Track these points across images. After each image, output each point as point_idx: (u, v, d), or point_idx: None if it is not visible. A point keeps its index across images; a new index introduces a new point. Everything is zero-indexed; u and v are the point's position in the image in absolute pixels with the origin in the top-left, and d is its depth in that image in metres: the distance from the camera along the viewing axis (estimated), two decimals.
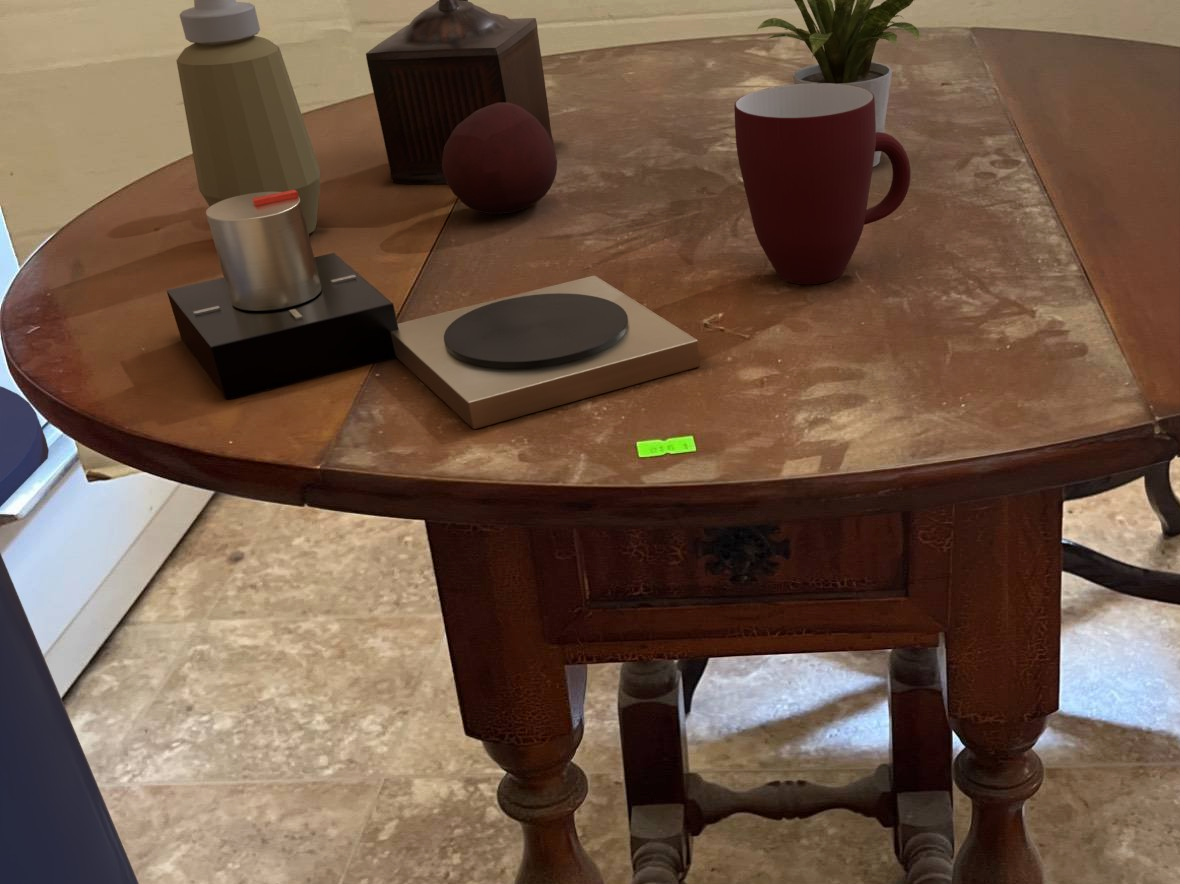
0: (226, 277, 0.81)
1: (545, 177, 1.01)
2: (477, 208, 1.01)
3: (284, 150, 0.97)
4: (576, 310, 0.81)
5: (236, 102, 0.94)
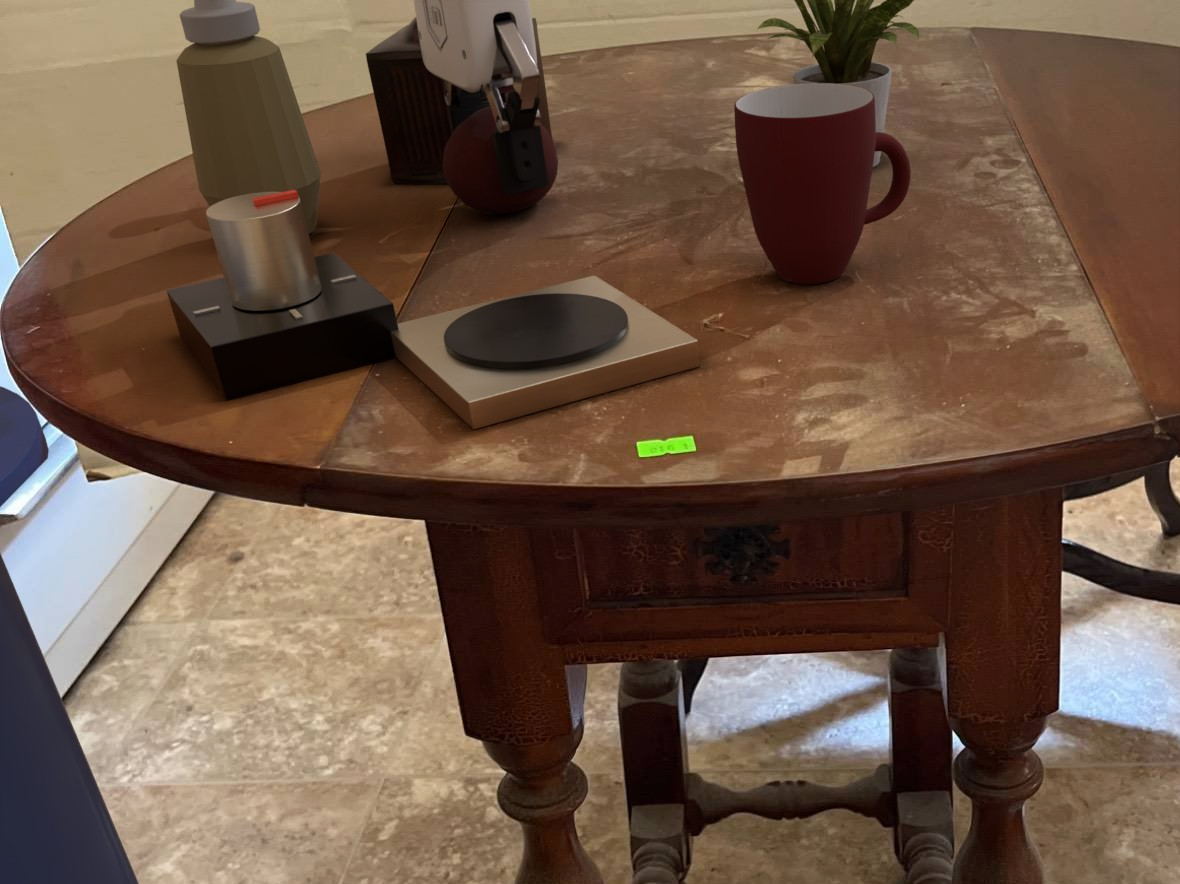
0: (226, 277, 0.81)
1: None
2: (477, 208, 1.01)
3: (284, 150, 0.97)
4: (576, 310, 0.81)
5: (236, 102, 0.94)
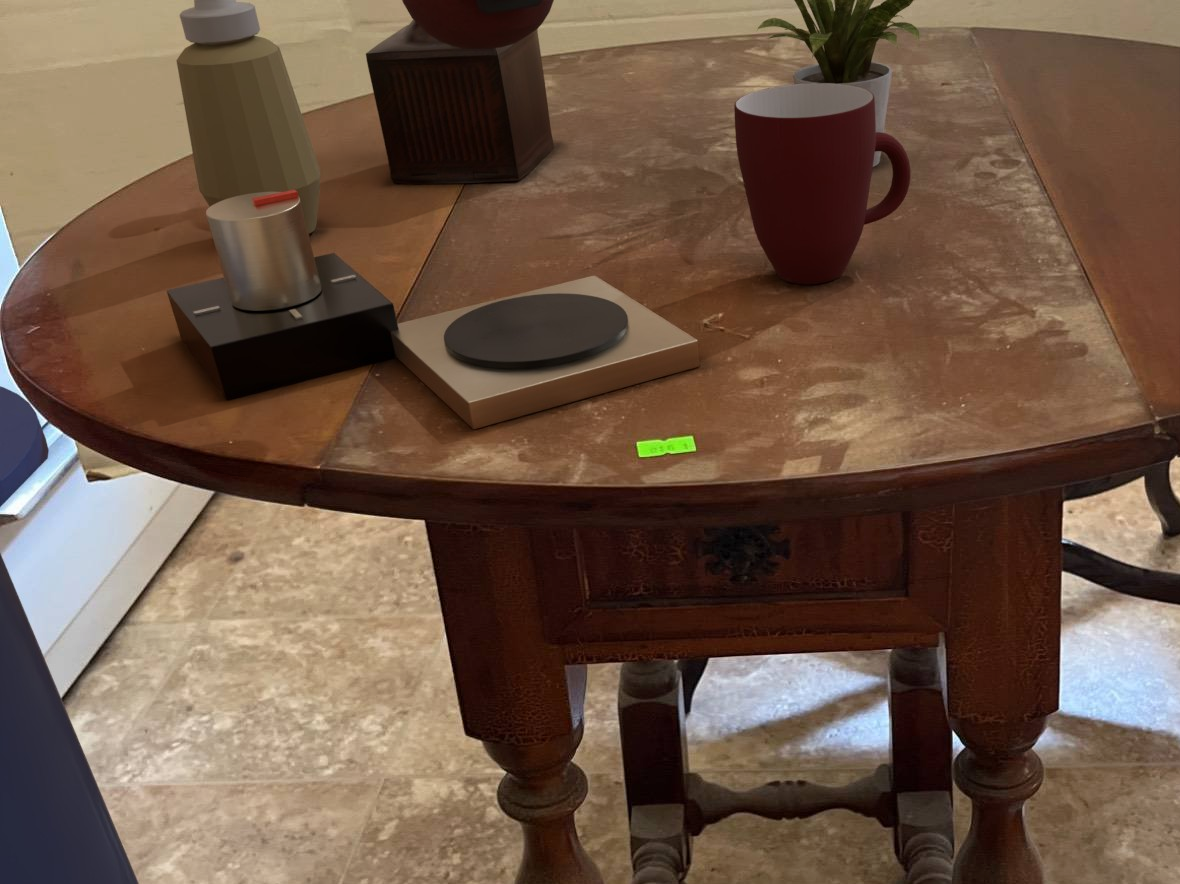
0: (226, 277, 0.81)
1: None
2: (445, 38, 0.72)
3: (284, 150, 0.97)
4: (576, 310, 0.81)
5: (236, 102, 0.94)
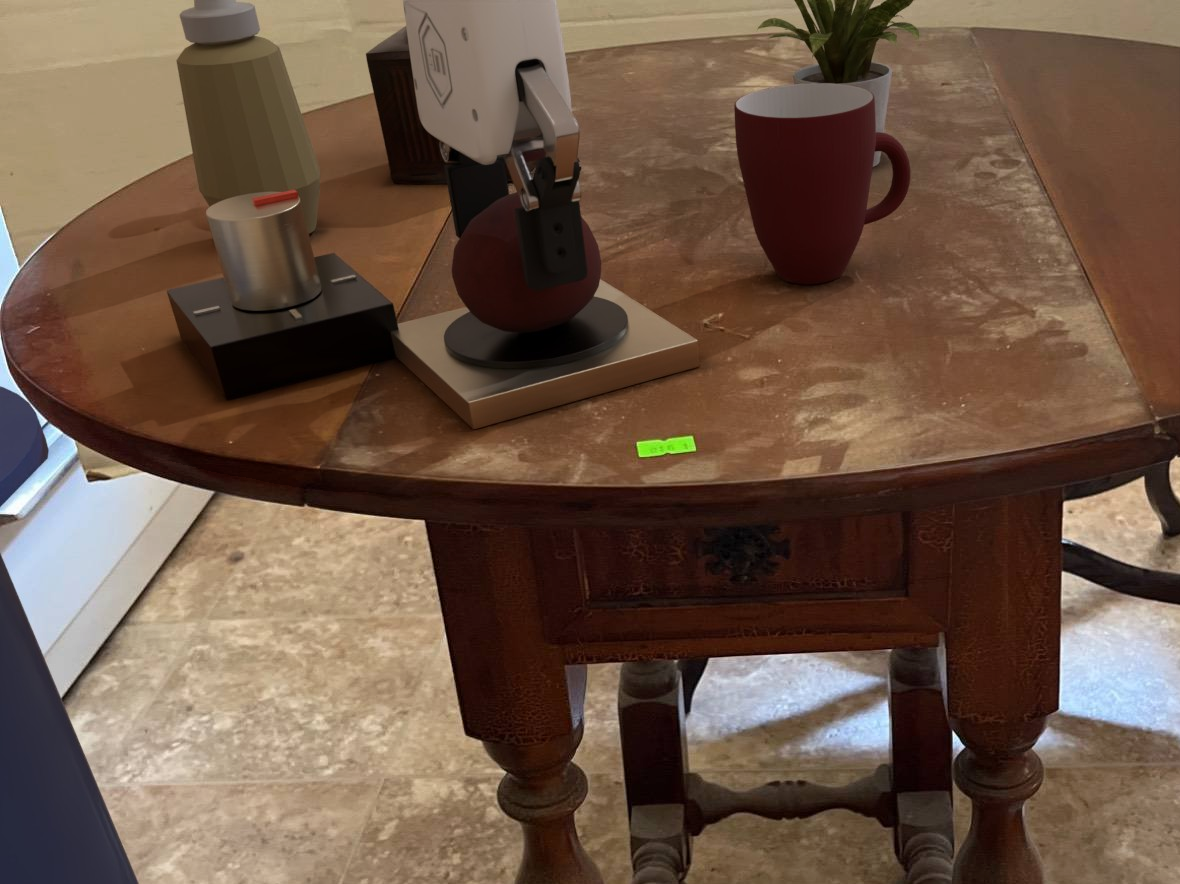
0: (226, 277, 0.81)
1: (587, 287, 0.77)
2: (497, 327, 0.77)
3: (284, 150, 0.97)
4: None
5: (236, 102, 0.94)
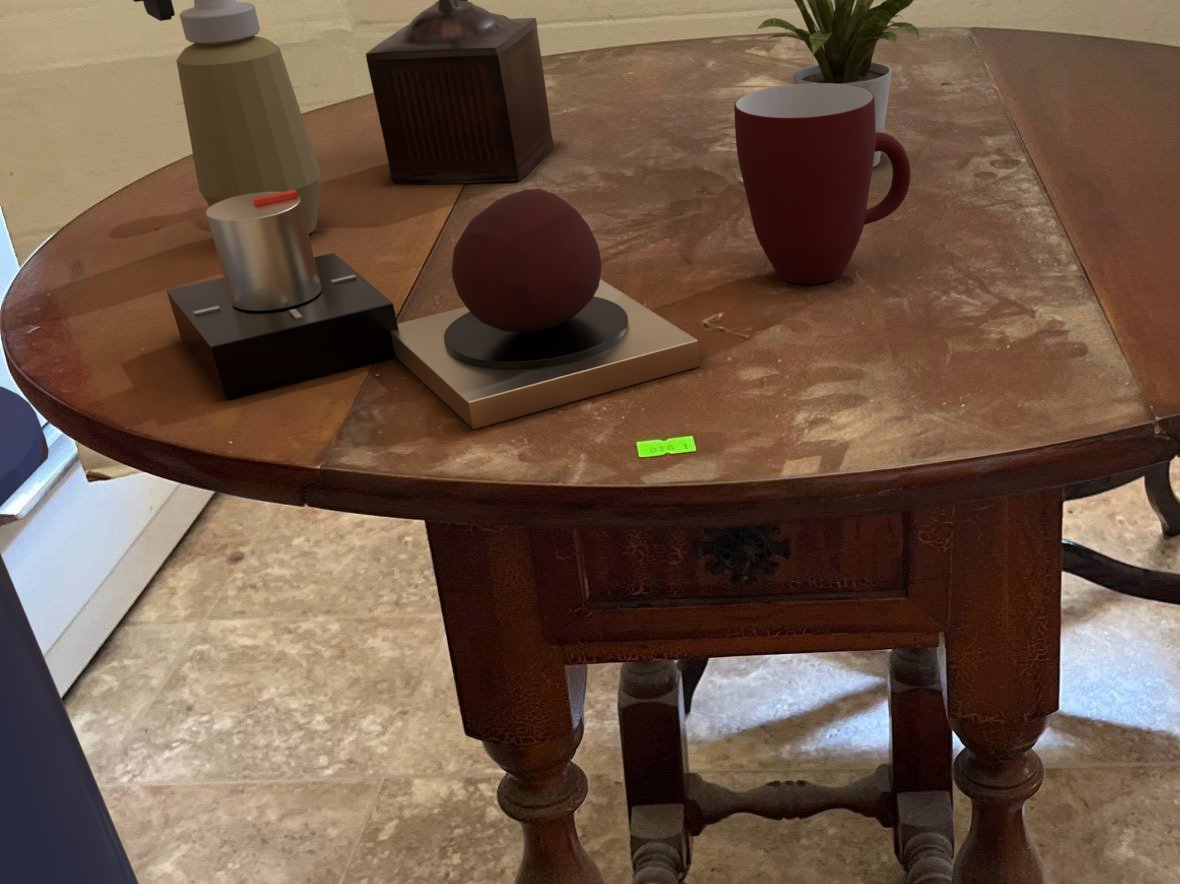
0: (226, 277, 0.81)
1: (587, 287, 0.77)
2: (497, 327, 0.77)
3: (284, 150, 0.97)
4: None
5: (236, 102, 0.94)
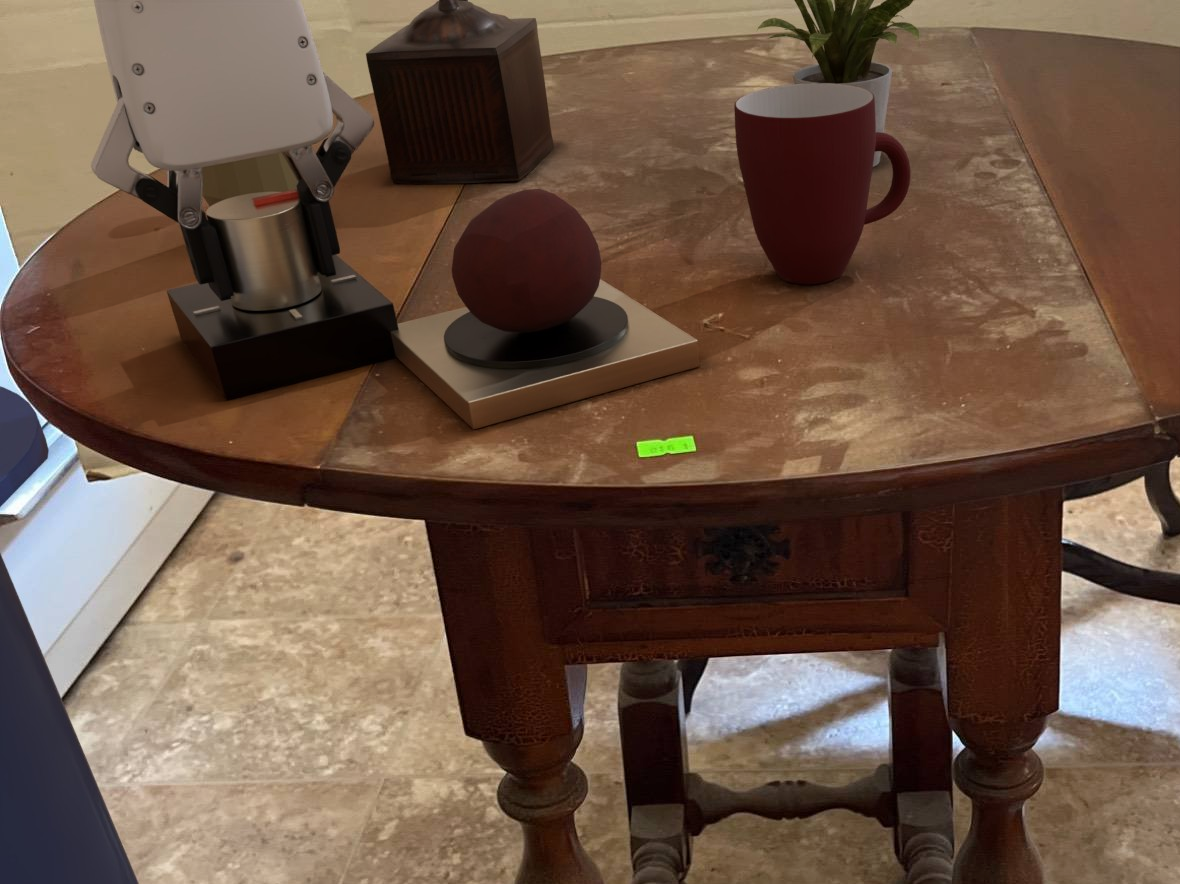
0: None
1: (587, 287, 0.77)
2: (497, 327, 0.77)
3: None
4: None
5: None
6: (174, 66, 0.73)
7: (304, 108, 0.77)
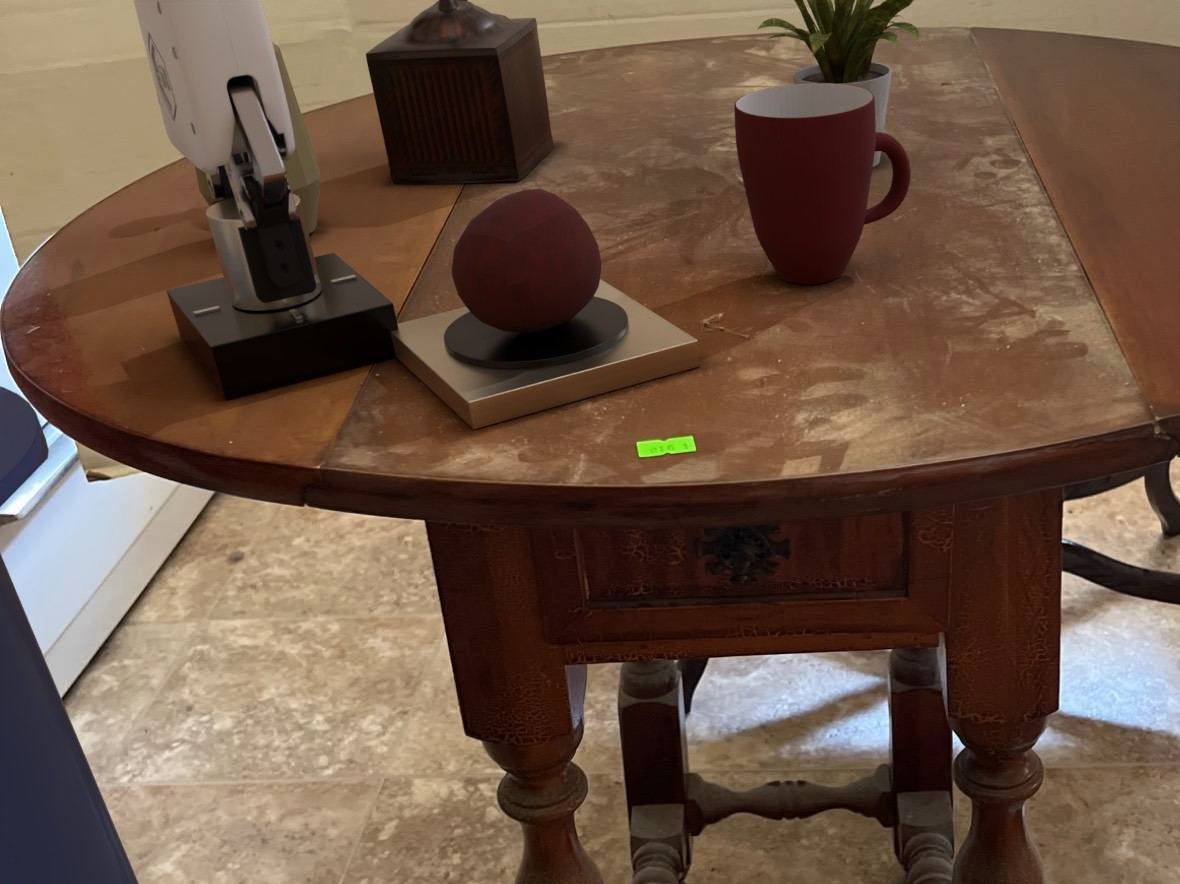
0: None
1: (587, 287, 0.77)
2: (497, 327, 0.77)
3: None
4: None
5: None
6: None
7: None
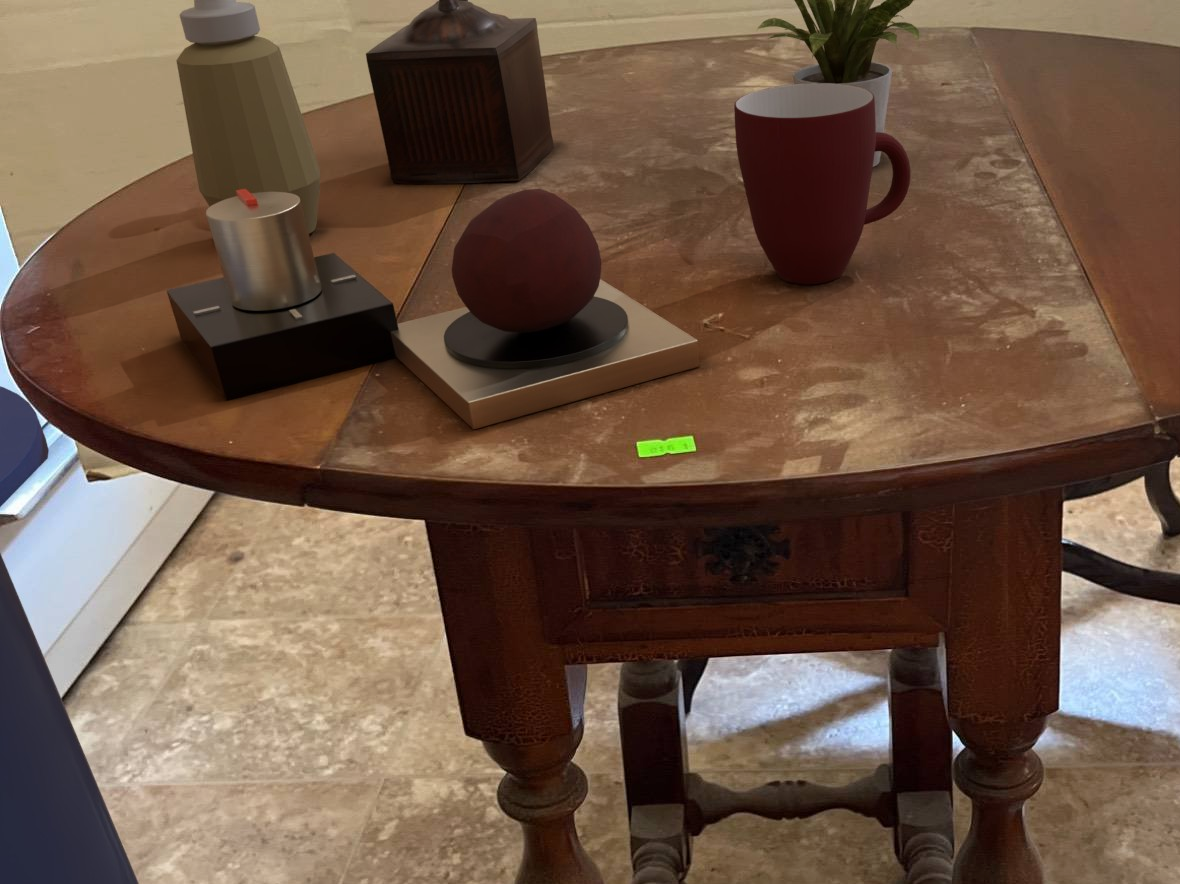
0: (287, 275, 0.80)
1: (587, 287, 0.77)
2: (497, 327, 0.77)
3: (284, 150, 0.97)
4: None
5: (236, 102, 0.94)
6: None
7: None
